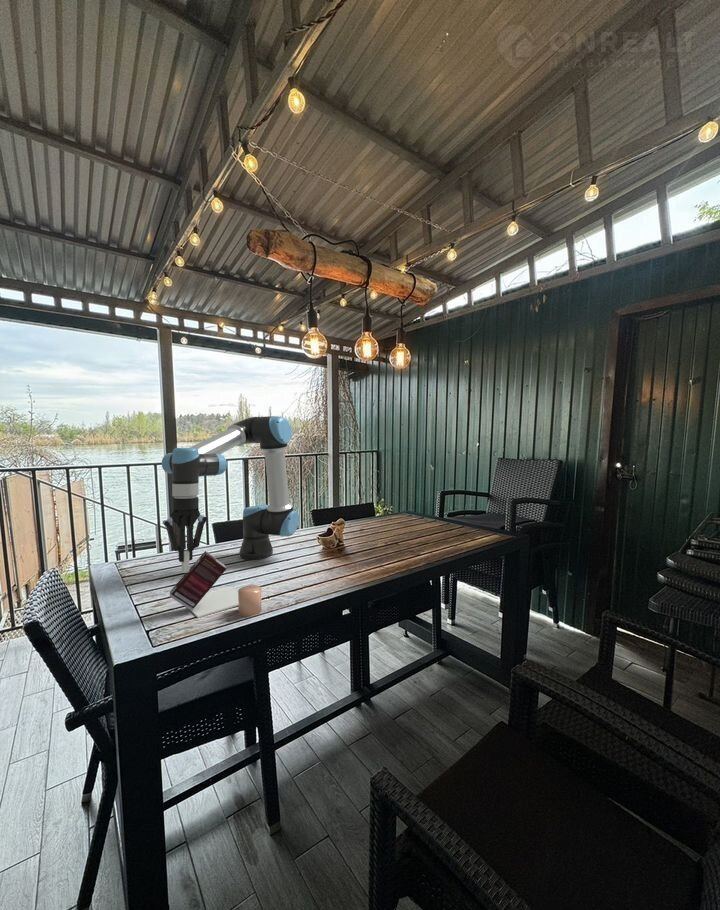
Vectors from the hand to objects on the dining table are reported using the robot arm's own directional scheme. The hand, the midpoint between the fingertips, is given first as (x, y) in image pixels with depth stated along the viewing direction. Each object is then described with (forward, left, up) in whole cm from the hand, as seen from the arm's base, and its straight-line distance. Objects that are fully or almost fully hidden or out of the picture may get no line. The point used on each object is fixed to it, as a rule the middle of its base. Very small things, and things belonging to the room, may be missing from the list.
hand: (185, 571), depth 116 cm
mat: (-10, -1, -13) cm, 16 cm away
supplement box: (+2, 0, -10) cm, 10 cm away
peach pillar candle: (-15, +13, -13) cm, 24 cm away
